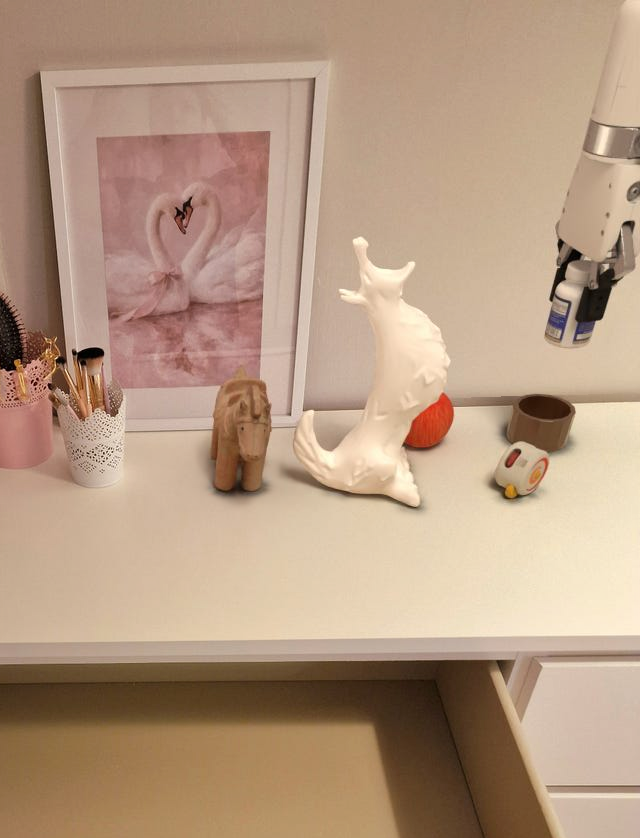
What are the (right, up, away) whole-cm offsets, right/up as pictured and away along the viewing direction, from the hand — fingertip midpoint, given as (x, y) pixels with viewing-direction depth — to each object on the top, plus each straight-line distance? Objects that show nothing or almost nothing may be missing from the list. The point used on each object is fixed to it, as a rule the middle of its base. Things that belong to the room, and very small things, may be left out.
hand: (575, 309), depth 103 cm
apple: (-15, -13, +14) cm, 24 cm away
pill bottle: (0, -3, +3) cm, 4 cm away
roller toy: (-5, -21, +5) cm, 22 cm away
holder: (+1, -12, +13) cm, 18 cm away
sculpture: (-25, -20, +7) cm, 32 cm away
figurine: (-39, -19, +9) cm, 44 cm away
